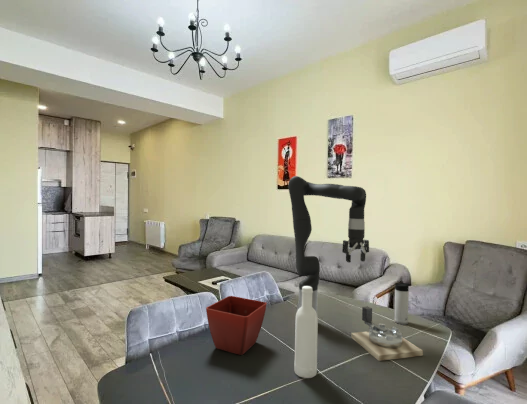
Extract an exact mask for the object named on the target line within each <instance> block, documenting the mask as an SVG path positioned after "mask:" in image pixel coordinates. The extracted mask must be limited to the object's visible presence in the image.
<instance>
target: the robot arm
mask: <svg viewBox="0 0 527 404" xmlns="http://www.w3.org/2000/svg"><path fill="white" fill-rule="evenodd" d="M287 188H288V194H289V196H290V197H289V198H290V202H291V212H292V214H291V215H292V226H293V233H294V242H295V246H294V247H295V268H296V272H297V274H298V275H299V276H307V277H306V278H305V279H304V278H303V280H301V281H300V282H299V283H298V302H297V303H296V312H297V311H298V309H299V308H300V307H301V306H302V287H303V286H310V287H312V290H313V293H312V307H313V308H314V310H315V311H316V313H317V314H318V292H319V291H318V288H319V282H320V271H321V268H320V267H321V265H320V260H319V258H318V256H315V255H310V256H307V255H305V254H306V253H305V249H306V244H307V242H308V240H309V238H310V236H311V233H312V229H313V228H312V220H311V216H310V212H309V209H308V207H307V204H306V202H305V196H316V197H317V196H318V197H325V198H331V199H338V200H347V201H351V206H350V207H349V209H348V213H349V214H348V227H347V229H348V230H347V237H348V240H345V239H344V240H342V250H341V251H342V253H344V254H345V262H346V263H352V260H351V259H352V253H353V252H354V250H356V251H357V250H359V251H360V262H365V261H366V254H367V253H369V252H370V241H369V239H365V230H366V227H365V224H366V222H365V207H366V204H367V203H366V201H367V192H366V189H364V188H363V187H361V186H353V185H342V184H336V183H323V184H322V183H318V184H317V183H313V182H309V181H307V180H306V179H304V178H303V177H300V176H297V175H294V176H292V177H291V178H290V179H289V181H288V186H287Z"/></svg>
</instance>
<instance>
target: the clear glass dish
mask: <svg viewBox="0 0 527 404" xmlns="http://www.w3.org/2000/svg"><path fill="white" fill-rule="evenodd" d="M361 319H362V321H363V322H364V324H365V325H366V326H369V327H368V331H369V340H370V341H371V342H372V343H374V344H376V345H378V346H382V347H386V348H398V347H400V346H401V345H402V337H403V333H402V332H401V331H400V328H398V327H396V326H391V328H389V327H386V324H385V323H378V324H376V323H375V322H373V308H372V307H370V306H368V305H366V306H362V316H361Z"/></svg>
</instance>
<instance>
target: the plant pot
mask: <svg viewBox="0 0 527 404" xmlns="http://www.w3.org/2000/svg"><path fill="white" fill-rule="evenodd" d="M205 310H206V311H205V313H206V319H207V323H208V328H209V331H210V336H211V338H212V341H213V344H214V347H215V349H217V350H221V351H225V352H228V353H231V354H235V355H240V356H243V355H244V354H245V353H247V352H248V351H249V349H251V348H252V347H253V346H254V345H255V344H256V343H257V340H258V338H259V335H260V332H261V329H262V326H263V324H264V323H263V322H264V319H265V314H266V310H267V302H266V301H261V300H255V299H250V298H245V297H239V296H234V295H228V296H226V297H224V298H222V299H220V300H218V301H217V302H214V303H213V304H211V305H208V306H206V307H205Z"/></svg>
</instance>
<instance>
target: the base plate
mask: <svg viewBox="0 0 527 404" xmlns="http://www.w3.org/2000/svg"><path fill="white" fill-rule="evenodd" d="M350 337H351V338H352V340H354V341H355V342H356V343H357V344H358V345H360V346H361V348H363V349H364V350H365V351H366V352H368V353H369V354H370V355H371V356H372V357H373V358H375V359H376V360H377V361H379V362H380V361H387V360H388V361H389V360H397V359H406V358H413V357H421V356H422V357H423V356H424V350H423V349H421V348H420V347H418V346H416V345H415V344H413V343H412V342H410V341H409V340H407V338H404V337H403V336H402V345H401V346H400V347H398V348H386V347H382V346H378V345H376V344H374V343H372V342H371V341H370V340H369V330H368V331H359V332H358V331H357V332H351V336H350Z"/></svg>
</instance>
